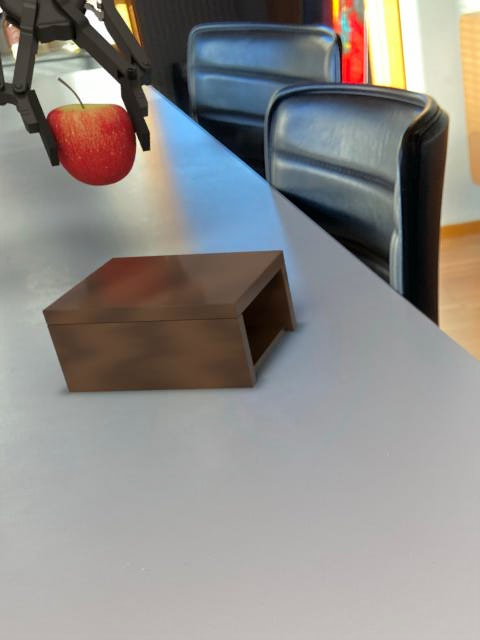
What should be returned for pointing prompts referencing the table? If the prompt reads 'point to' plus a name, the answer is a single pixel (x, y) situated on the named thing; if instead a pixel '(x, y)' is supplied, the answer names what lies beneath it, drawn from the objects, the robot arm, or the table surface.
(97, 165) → the apple
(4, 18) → the robot arm
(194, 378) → the shelf
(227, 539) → the table surface
